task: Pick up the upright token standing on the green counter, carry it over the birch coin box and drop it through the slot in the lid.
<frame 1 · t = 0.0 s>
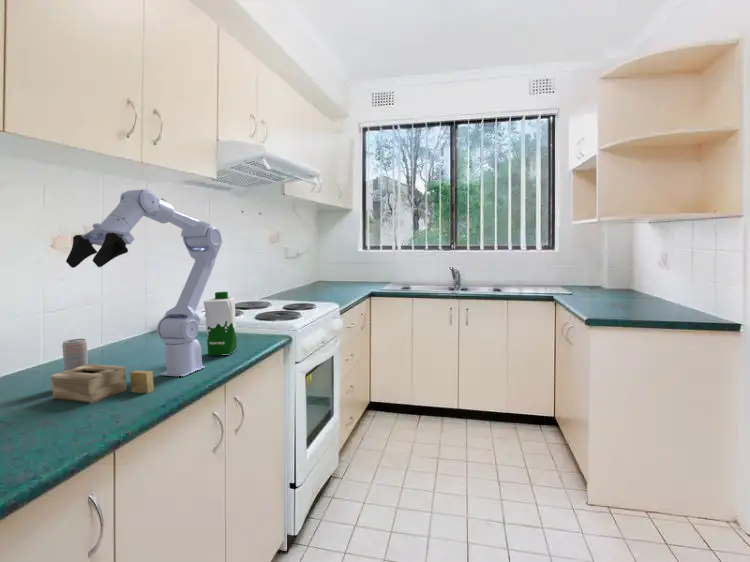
hand: (83, 264, 102), 32 cm above the counter, tool tilted 50°, fingers open, 7 cm apart
coin box: (90, 394, 113), on the counter
energy drink: (78, 386, 121), on the counter
token: (142, 391, 115), on the counter
milk carton: (222, 354, 152), on the counter
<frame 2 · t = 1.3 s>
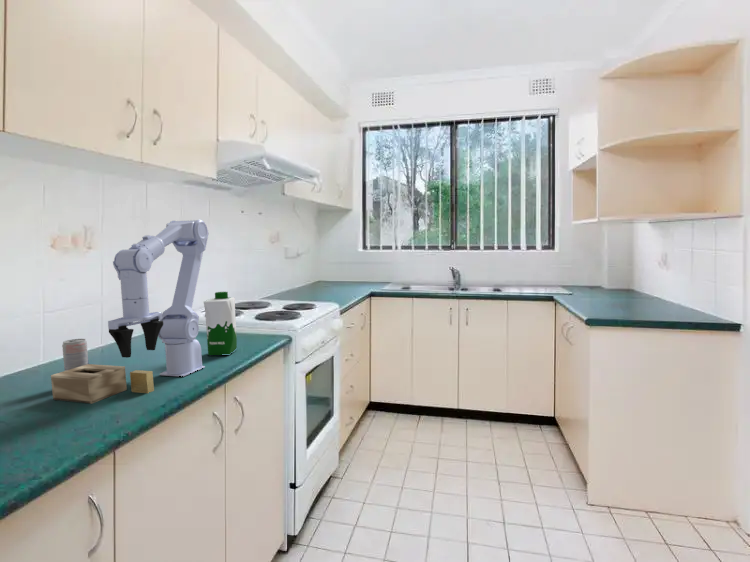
hand: (139, 353, 114), 10 cm above the counter, tool pointing down, fingers open, 7 cm apart
nothing on the counter moved.
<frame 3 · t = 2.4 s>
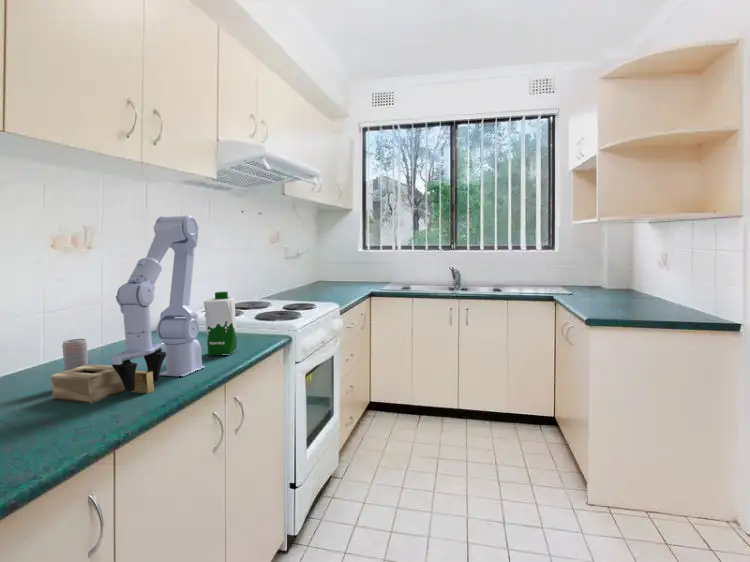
hand: (142, 385, 115), 1 cm above the counter, tool pointing down, fingers open, 7 cm apart
nothing on the counter moved.
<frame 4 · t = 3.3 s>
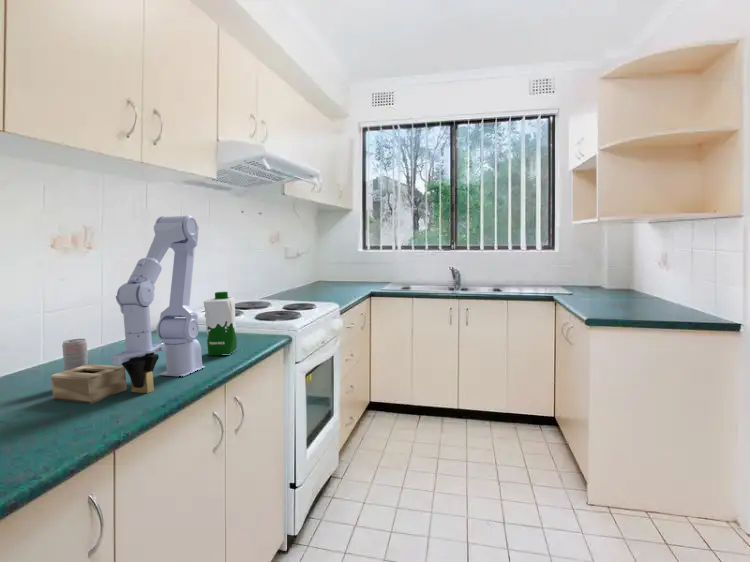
hand: (142, 385, 115), 1 cm above the counter, tool pointing down, fingers closed on token, 2 cm apart
token: (142, 391, 115), on the counter, touching gripper
everything else where it was.
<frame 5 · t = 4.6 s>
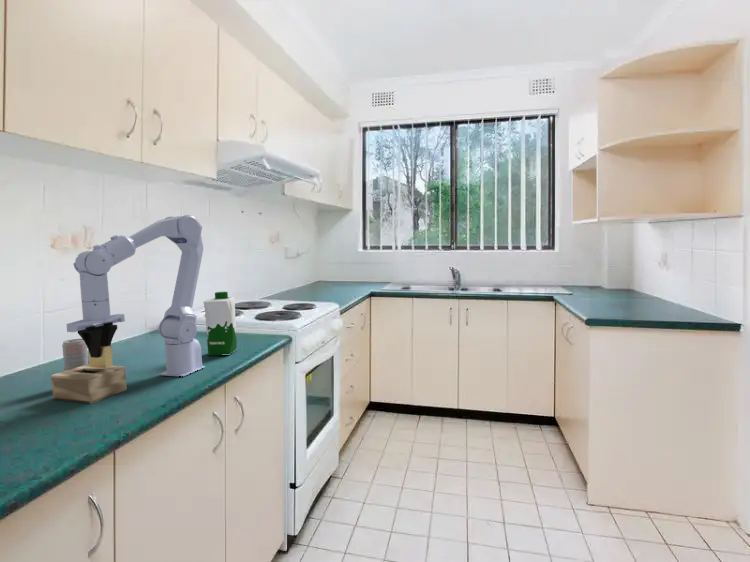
hand: (100, 355, 113), 10 cm above the counter, tool pointing down, fingers closed on token
token: (101, 366, 113), point 7 cm above the counter, touching gripper
everything else where it was.
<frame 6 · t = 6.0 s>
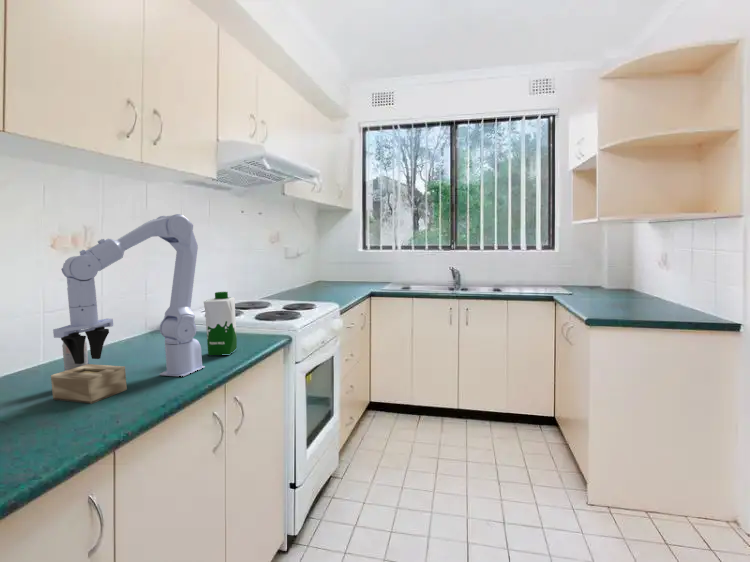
hand: (88, 361, 113), 8 cm above the counter, tool pointing down, fingers open, 4 cm apart
token: (90, 392, 113), resting on coin box
everything else where it was.
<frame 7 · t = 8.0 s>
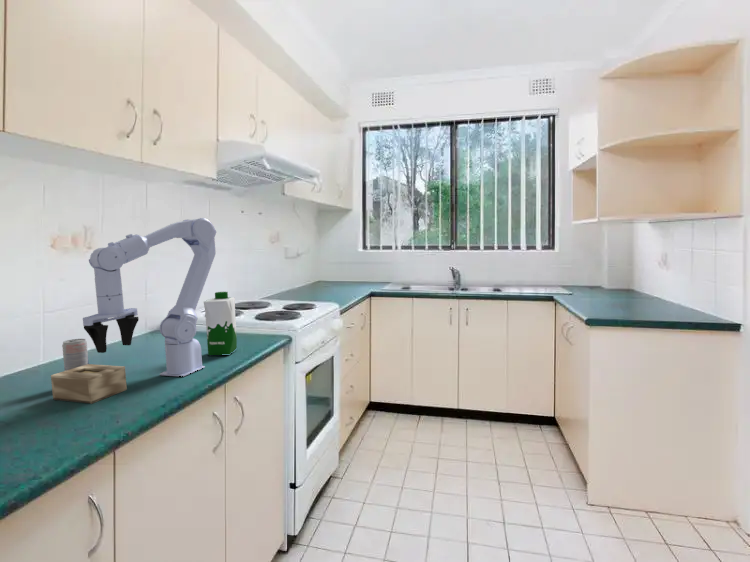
hand: (114, 348, 117), 10 cm above the counter, tool pointing down, fingers open, 7 cm apart
nothing on the counter moved.
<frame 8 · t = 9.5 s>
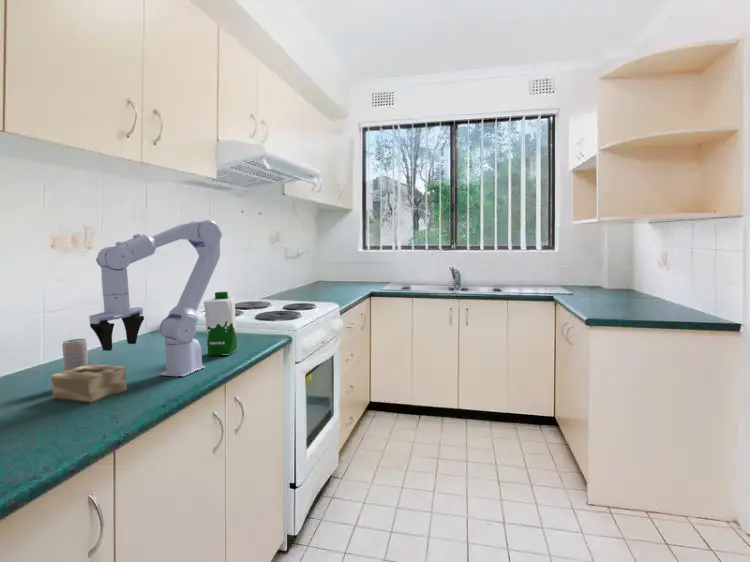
hand: (120, 347, 118), 10 cm above the counter, tool pointing down, fingers open, 7 cm apart
nothing on the counter moved.
at the end: token inside the target area on the coin box (0.1 cm from its centre), point 0.5 cm above the coin box's base; the gripper is holding nothing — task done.
